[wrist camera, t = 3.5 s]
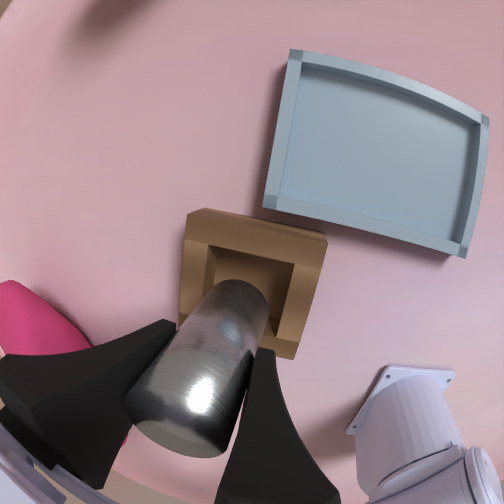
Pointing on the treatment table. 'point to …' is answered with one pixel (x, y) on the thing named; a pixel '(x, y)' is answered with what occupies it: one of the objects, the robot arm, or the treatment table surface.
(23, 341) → the cushion
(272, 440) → the robot arm
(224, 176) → the treatment table surface
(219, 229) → the socket block
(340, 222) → the tray
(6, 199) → the treatment table surface
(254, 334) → the dowel
